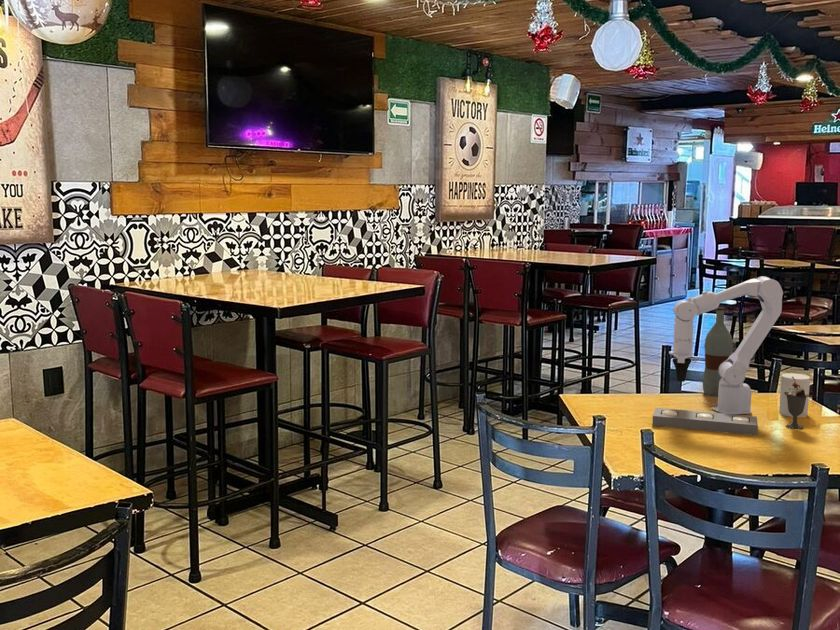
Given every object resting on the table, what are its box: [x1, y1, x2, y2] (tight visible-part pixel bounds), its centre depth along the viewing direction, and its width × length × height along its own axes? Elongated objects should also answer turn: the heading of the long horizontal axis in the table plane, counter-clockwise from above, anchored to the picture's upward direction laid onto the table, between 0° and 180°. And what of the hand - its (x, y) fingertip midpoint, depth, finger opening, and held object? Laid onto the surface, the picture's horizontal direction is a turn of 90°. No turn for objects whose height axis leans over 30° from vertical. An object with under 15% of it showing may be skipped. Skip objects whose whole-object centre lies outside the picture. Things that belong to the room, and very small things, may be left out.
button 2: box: [733, 417, 749, 422], centre depth 244 cm, size 4×4×3 cm
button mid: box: [697, 414, 713, 419], centre depth 247 cm, size 4×4×3 cm
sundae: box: [784, 377, 810, 430], centre depth 245 cm, size 7×7×15 cm
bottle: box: [702, 306, 734, 397], centre depth 284 cm, size 9×9×30 cm
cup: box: [778, 372, 811, 418], centre depth 260 cm, size 8×8×12 cm
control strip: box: [652, 407, 759, 436], centre depth 247 cm, size 10×29×3 cm, turn 70°
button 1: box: [662, 410, 677, 416], centre depth 251 cm, size 4×4×3 cm
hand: (681, 381), depth 264 cm, fingers closed
